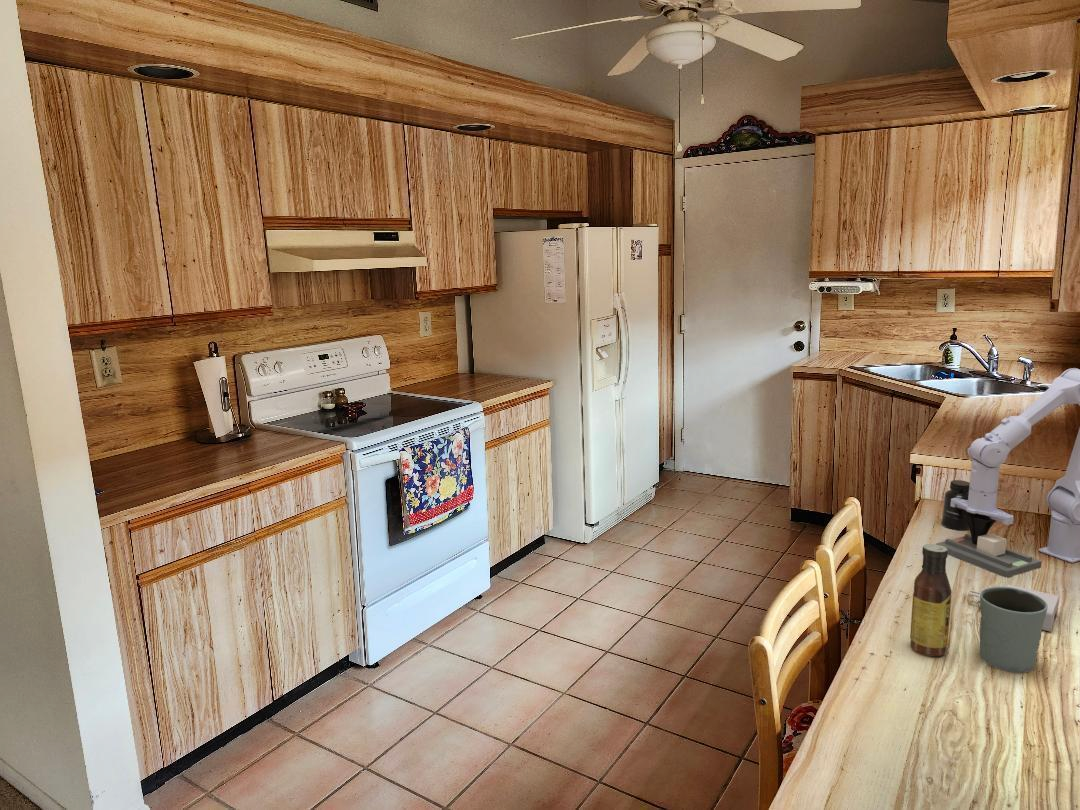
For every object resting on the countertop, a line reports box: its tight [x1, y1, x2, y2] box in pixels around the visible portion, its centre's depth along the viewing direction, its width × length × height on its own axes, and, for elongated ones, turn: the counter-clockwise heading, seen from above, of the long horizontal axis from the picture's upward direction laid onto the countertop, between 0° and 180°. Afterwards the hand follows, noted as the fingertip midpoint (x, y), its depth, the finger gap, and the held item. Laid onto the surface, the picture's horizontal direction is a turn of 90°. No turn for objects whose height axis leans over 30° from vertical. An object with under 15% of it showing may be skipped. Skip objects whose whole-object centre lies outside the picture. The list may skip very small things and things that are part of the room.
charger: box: [967, 583, 1060, 633], centre depth 152 cm, size 5×9×15 cm
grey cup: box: [978, 586, 1048, 674], centre depth 134 cm, size 10×10×12 cm
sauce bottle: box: [909, 543, 953, 657], centre depth 138 cm, size 7×6×20 cm
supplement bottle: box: [941, 479, 970, 531], centre depth 197 cm, size 7×7×12 cm
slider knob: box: [977, 532, 1008, 556], centre depth 177 cm, size 4×4×4 cm
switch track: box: [935, 533, 1043, 578], centre depth 178 cm, size 12×18×2 cm, turn 24°
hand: (977, 543), depth 180 cm, fingers closed
